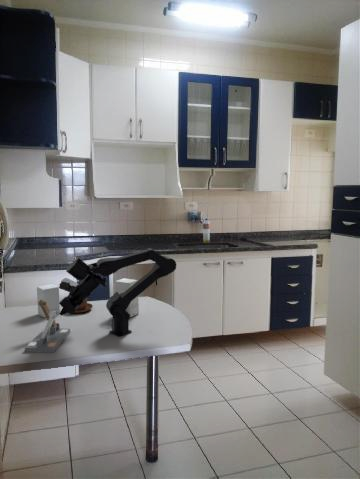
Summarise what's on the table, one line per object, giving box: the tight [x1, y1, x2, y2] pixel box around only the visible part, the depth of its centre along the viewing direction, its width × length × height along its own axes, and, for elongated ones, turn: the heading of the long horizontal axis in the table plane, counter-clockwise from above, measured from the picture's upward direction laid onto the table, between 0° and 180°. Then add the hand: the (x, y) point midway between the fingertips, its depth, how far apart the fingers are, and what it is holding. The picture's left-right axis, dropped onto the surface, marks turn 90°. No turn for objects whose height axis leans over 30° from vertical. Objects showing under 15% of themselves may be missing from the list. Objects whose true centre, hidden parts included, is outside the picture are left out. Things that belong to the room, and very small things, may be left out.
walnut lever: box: [37, 299, 57, 328], centre depth 159 cm, size 3×3×13 cm
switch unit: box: [24, 322, 71, 353], centre depth 153 cm, size 10×19×4 cm, turn 177°
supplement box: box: [36, 283, 61, 319], centre depth 183 cm, size 7×7×13 cm
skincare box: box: [114, 278, 140, 318], centre depth 183 cm, size 8×7×16 cm
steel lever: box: [40, 311, 59, 342], centre depth 146 cm, size 3×3×13 cm
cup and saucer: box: [73, 298, 93, 314], centre depth 189 cm, size 12×12×6 cm
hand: (60, 314), depth 159 cm, fingers closed
